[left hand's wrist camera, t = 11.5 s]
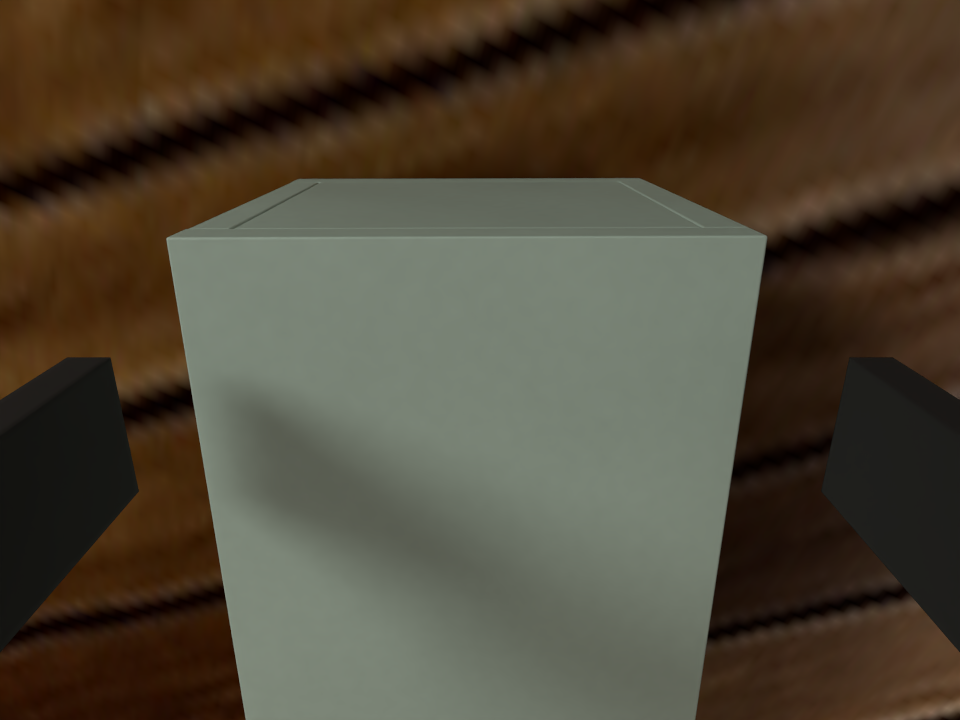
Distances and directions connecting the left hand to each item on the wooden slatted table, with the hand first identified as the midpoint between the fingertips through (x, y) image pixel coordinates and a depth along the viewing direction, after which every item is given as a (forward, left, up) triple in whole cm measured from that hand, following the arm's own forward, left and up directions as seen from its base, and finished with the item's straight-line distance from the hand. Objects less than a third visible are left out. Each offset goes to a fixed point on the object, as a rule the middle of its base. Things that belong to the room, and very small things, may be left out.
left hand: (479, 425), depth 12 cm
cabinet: (+2, +7, -12) cm, 14 cm away
